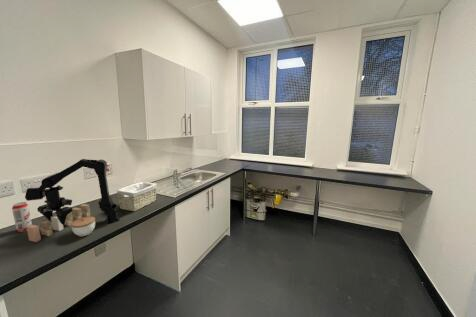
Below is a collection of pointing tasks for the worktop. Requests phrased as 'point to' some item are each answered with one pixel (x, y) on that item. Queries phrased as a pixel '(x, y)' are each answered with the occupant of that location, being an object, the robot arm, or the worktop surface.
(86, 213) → the domino
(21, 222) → the beer can
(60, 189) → the robot arm
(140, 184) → the storage basket
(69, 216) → the domino
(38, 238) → the domino end
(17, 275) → the worktop surface
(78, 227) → the lidded jar
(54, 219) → the domino
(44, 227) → the domino
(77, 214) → the domino
